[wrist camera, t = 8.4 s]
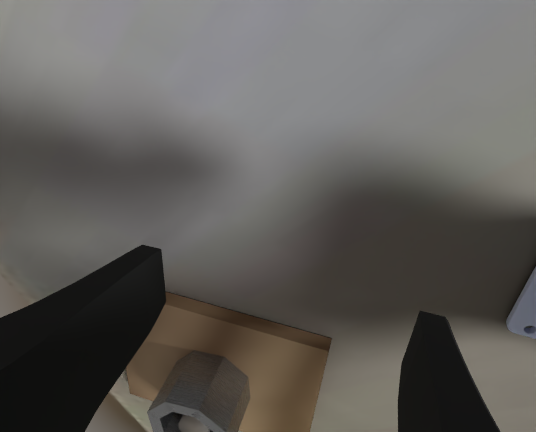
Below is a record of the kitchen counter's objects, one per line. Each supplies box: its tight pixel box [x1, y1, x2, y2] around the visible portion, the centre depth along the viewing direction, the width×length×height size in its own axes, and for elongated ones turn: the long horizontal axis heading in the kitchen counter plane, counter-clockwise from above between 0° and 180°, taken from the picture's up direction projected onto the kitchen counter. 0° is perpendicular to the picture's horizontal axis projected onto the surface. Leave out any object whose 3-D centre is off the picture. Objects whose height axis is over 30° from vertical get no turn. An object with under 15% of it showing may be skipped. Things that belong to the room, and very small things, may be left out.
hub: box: [147, 350, 251, 432], centre depth 28 cm, size 5×5×4 cm
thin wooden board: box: [126, 292, 331, 432], centre depth 29 cm, size 14×11×4 cm
